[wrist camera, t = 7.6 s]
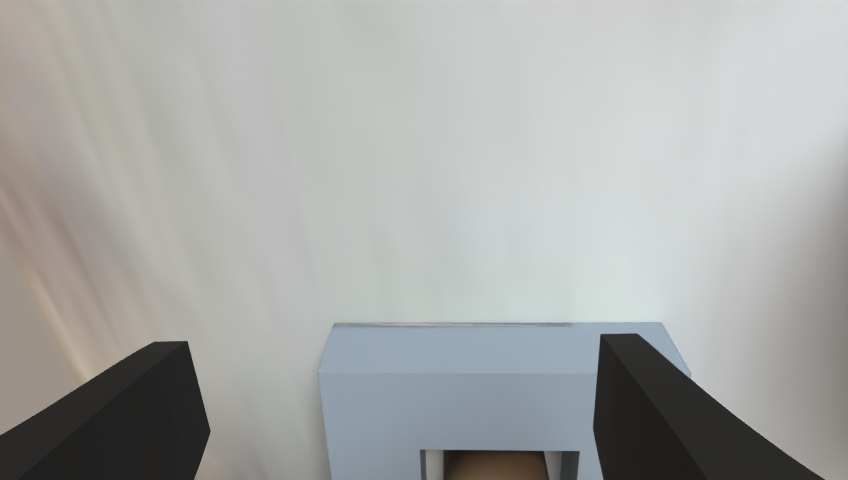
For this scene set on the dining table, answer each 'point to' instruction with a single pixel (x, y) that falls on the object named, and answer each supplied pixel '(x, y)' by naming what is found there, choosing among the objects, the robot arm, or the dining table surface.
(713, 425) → the robot arm
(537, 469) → the peg
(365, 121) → the dining table surface
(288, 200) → the dining table surface
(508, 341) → the socket block
